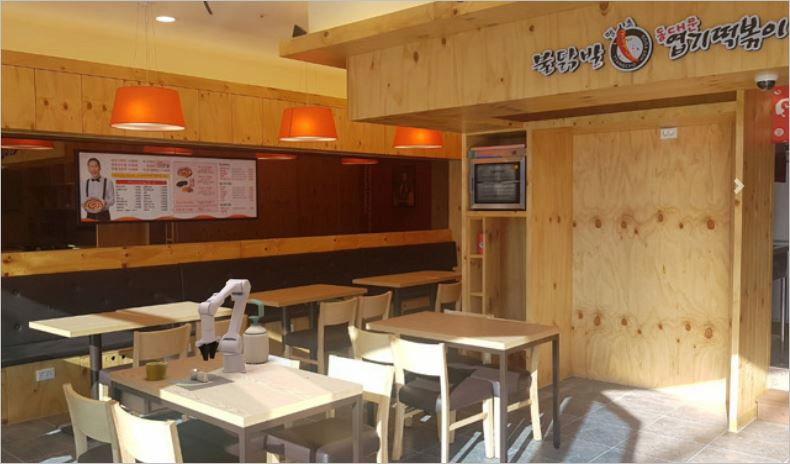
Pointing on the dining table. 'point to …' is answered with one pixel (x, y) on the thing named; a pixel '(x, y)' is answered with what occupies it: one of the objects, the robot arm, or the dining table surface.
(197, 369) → the tuning dial
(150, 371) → the mug
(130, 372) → the dining table surface
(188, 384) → the tuner board
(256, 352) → the soap bottle
